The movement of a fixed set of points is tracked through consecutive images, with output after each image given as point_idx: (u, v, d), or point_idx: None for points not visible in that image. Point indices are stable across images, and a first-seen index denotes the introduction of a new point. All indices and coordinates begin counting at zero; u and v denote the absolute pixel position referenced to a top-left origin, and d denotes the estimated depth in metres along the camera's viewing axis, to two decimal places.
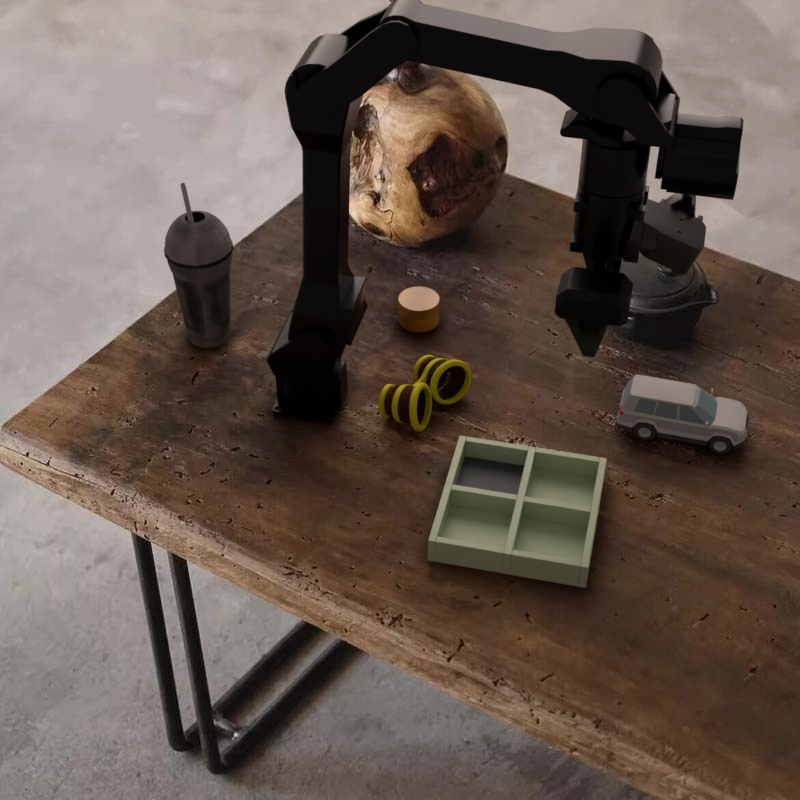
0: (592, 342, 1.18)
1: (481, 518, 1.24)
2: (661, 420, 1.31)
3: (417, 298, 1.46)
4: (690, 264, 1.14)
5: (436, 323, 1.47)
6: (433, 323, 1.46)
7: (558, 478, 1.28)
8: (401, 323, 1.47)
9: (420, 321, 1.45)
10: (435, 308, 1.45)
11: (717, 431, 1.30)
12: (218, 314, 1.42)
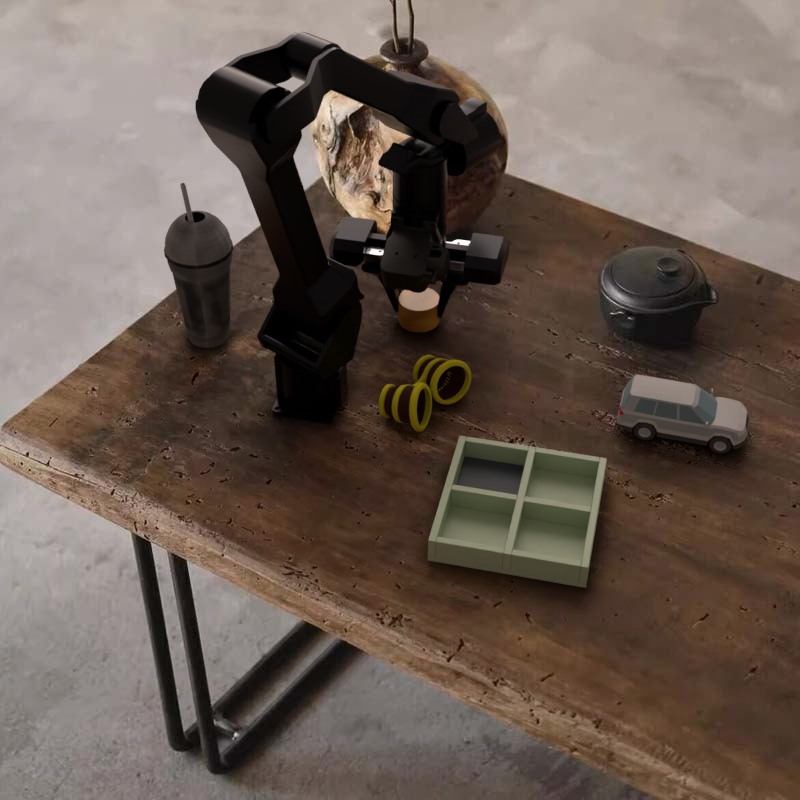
0: None
1: (481, 518, 1.24)
2: (661, 420, 1.31)
3: (417, 298, 1.46)
4: (383, 278, 1.36)
5: (436, 323, 1.47)
6: (433, 323, 1.46)
7: (558, 478, 1.28)
8: (401, 323, 1.47)
9: (420, 321, 1.45)
10: (435, 308, 1.45)
11: (717, 431, 1.30)
12: (218, 314, 1.42)
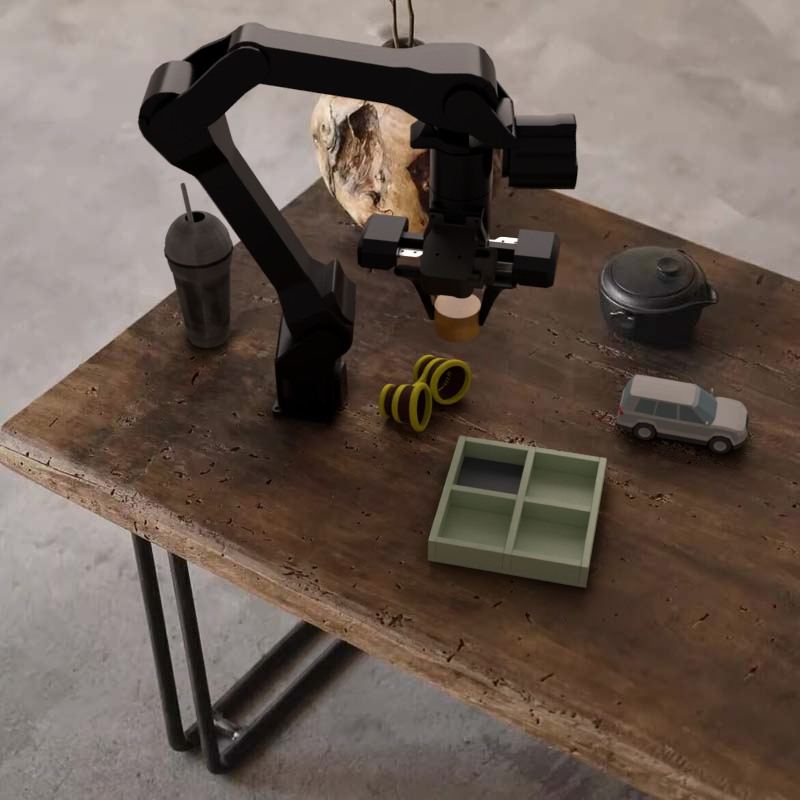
0: None
1: (481, 518, 1.24)
2: (661, 420, 1.31)
3: (456, 304, 1.29)
4: (422, 283, 1.19)
5: (477, 331, 1.30)
6: (474, 332, 1.30)
7: (558, 478, 1.28)
8: (438, 332, 1.30)
9: (459, 330, 1.29)
10: (477, 314, 1.29)
11: (717, 431, 1.30)
12: (218, 314, 1.42)
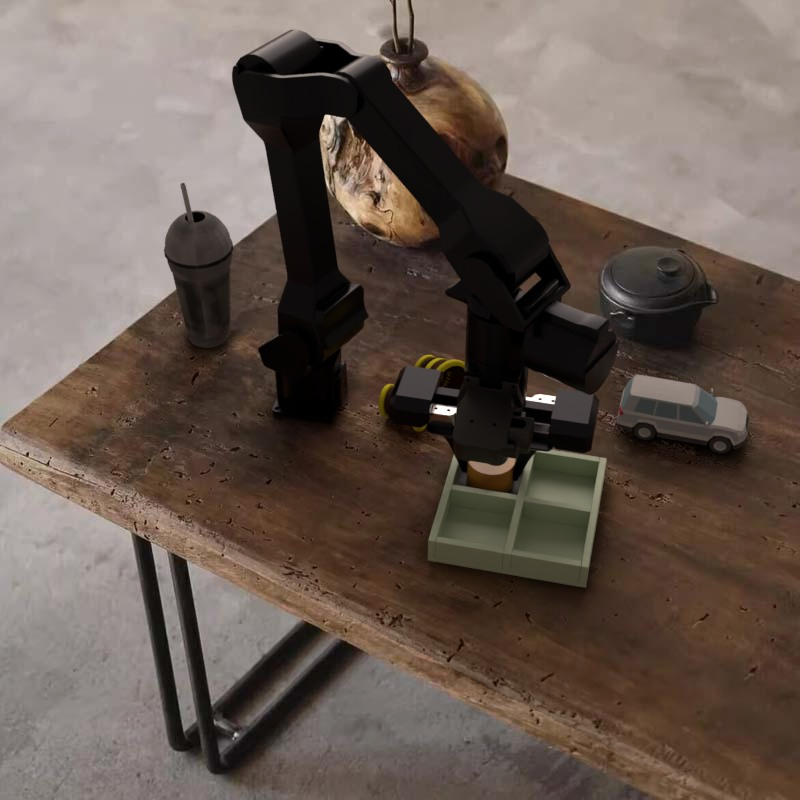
0: None
1: (481, 518, 1.24)
2: (661, 420, 1.31)
3: None
4: (455, 450, 1.15)
5: (511, 486, 1.26)
6: (508, 487, 1.26)
7: (558, 478, 1.28)
8: (470, 486, 1.26)
9: (493, 486, 1.25)
10: (511, 470, 1.25)
11: (717, 431, 1.30)
12: (218, 314, 1.42)
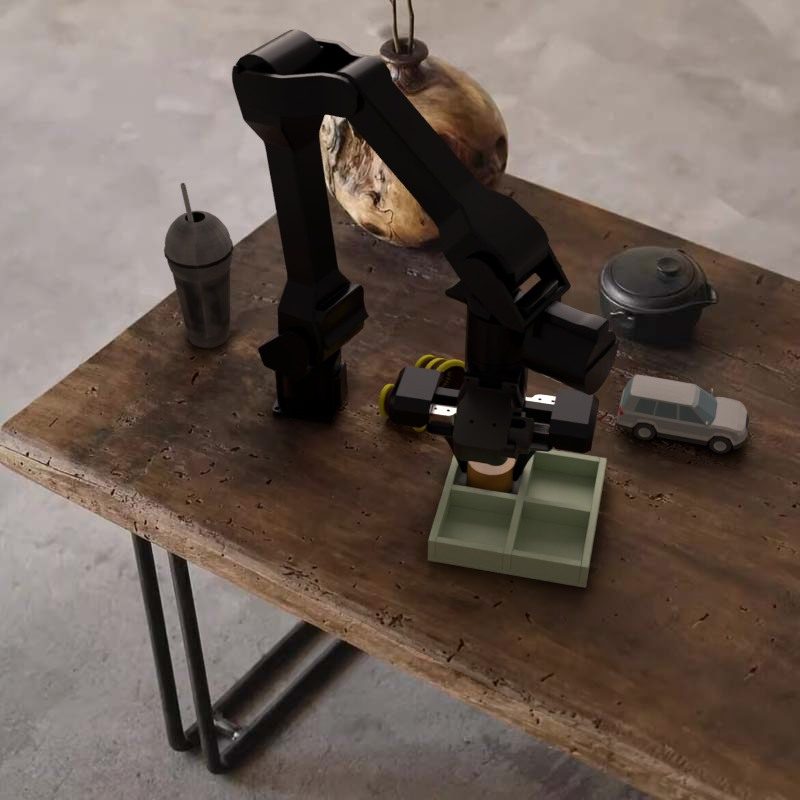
0: None
1: (481, 518, 1.24)
2: (661, 420, 1.31)
3: None
4: (455, 450, 1.15)
5: (511, 486, 1.26)
6: (508, 487, 1.26)
7: (558, 478, 1.28)
8: (470, 486, 1.26)
9: (493, 486, 1.25)
10: (511, 470, 1.25)
11: (717, 431, 1.30)
12: (218, 314, 1.42)
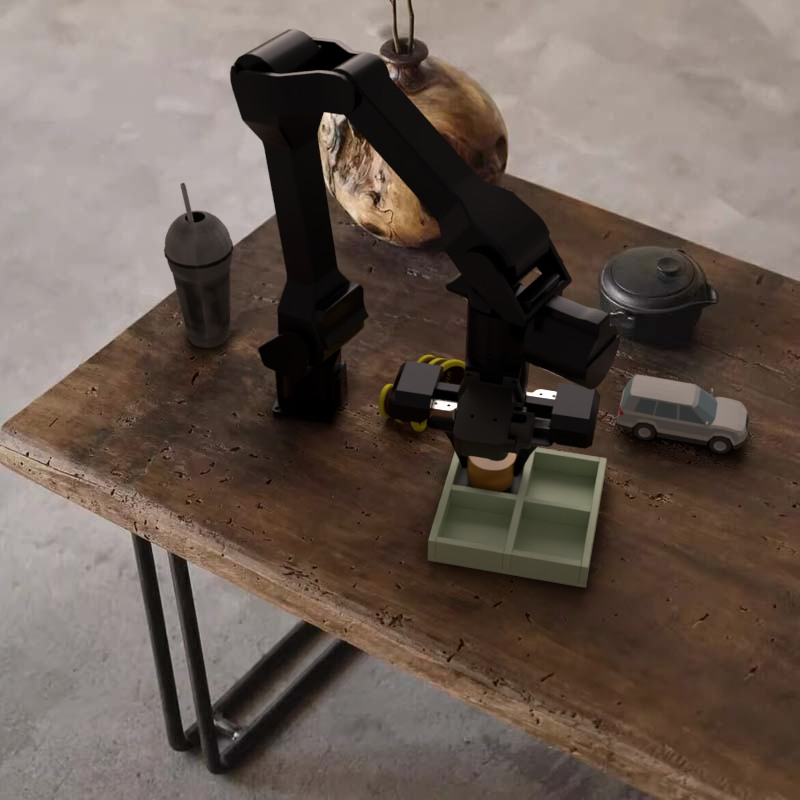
0: None
1: (481, 518, 1.24)
2: (661, 420, 1.31)
3: None
4: (455, 445, 1.15)
5: (512, 482, 1.26)
6: (508, 482, 1.25)
7: (558, 478, 1.28)
8: (471, 482, 1.26)
9: (493, 481, 1.24)
10: (512, 466, 1.24)
11: (717, 431, 1.30)
12: (218, 314, 1.42)
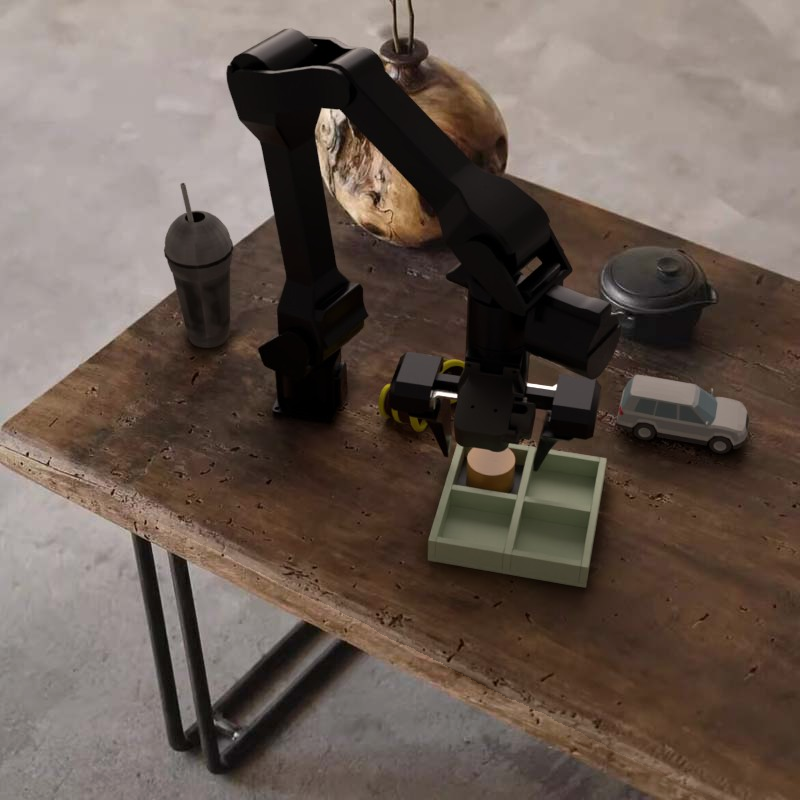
0: None
1: (481, 518, 1.24)
2: (661, 420, 1.31)
3: (489, 459, 1.25)
4: (456, 436, 1.14)
5: (511, 487, 1.26)
6: (508, 487, 1.26)
7: (558, 478, 1.28)
8: None
9: (493, 486, 1.25)
10: (511, 471, 1.25)
11: (717, 431, 1.30)
12: (218, 314, 1.42)
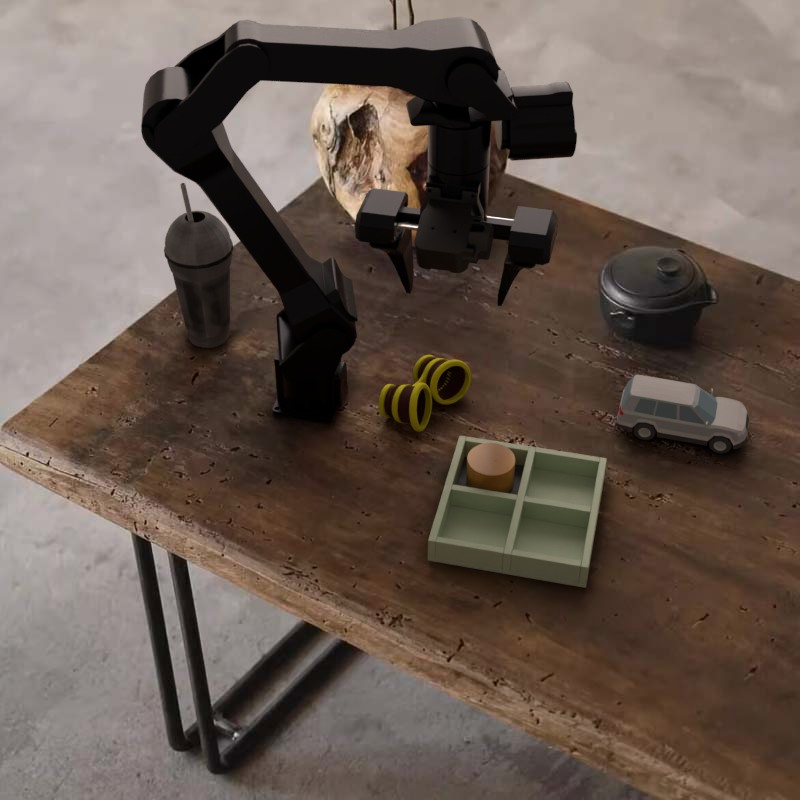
0: None
1: (481, 518, 1.24)
2: (661, 420, 1.31)
3: (489, 459, 1.25)
4: (417, 257, 1.20)
5: (511, 487, 1.26)
6: (508, 487, 1.26)
7: (558, 478, 1.28)
8: None
9: (493, 486, 1.25)
10: (511, 471, 1.25)
11: (717, 431, 1.30)
12: (218, 314, 1.42)
